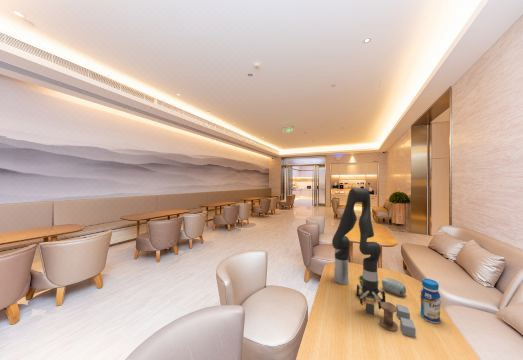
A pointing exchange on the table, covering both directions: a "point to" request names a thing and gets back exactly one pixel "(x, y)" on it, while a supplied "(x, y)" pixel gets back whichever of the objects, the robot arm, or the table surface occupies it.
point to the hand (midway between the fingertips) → (370, 306)
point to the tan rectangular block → (369, 306)
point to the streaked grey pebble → (394, 286)
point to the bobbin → (388, 316)
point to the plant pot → (362, 285)
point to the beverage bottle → (430, 301)
